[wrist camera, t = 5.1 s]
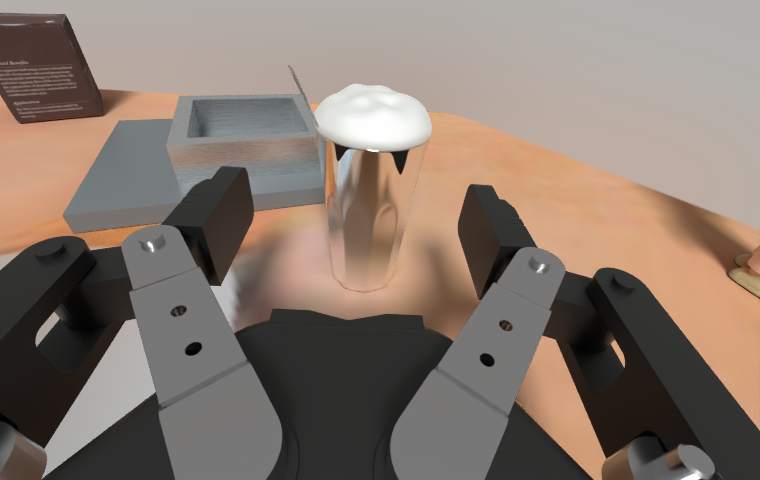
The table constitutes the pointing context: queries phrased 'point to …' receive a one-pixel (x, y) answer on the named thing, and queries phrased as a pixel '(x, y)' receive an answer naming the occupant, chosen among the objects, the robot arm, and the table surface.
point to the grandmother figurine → (748, 271)
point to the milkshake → (368, 177)
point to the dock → (201, 159)
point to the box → (44, 69)
